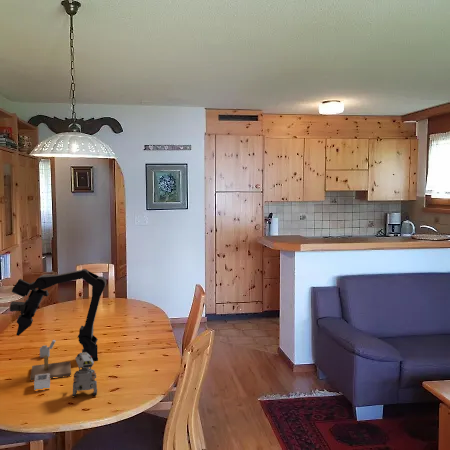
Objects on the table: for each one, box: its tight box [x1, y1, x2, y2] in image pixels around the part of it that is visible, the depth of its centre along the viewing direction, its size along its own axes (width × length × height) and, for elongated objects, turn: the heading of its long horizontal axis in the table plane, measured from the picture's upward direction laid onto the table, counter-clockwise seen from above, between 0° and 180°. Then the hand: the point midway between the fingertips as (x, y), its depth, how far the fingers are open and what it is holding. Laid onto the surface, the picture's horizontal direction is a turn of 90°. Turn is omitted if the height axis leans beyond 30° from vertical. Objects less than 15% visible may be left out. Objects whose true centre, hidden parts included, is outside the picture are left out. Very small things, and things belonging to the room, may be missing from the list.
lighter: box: [39, 339, 57, 358], centre depth 208 cm, size 7×2×8 cm, turn 99°
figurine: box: [71, 352, 98, 397], centre depth 170 cm, size 9×12×15 cm
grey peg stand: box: [29, 355, 72, 381], centre depth 189 cm, size 16×14×8 cm
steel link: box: [33, 373, 51, 390], centre depth 175 cm, size 6×7×4 cm
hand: (18, 331), depth 200 cm, fingers open, 9 cm apart
